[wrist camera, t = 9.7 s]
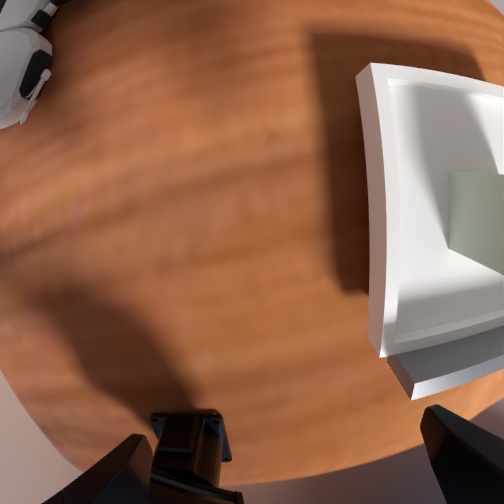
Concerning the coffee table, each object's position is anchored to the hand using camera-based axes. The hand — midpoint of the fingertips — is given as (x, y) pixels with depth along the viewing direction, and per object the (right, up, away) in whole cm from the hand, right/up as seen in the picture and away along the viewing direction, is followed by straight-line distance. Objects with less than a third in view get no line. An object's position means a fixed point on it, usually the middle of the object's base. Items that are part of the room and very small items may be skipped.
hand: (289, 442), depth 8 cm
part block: (+12, +8, +7) cm, 16 cm away
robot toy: (-20, +23, +8) cm, 31 cm away
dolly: (+13, +9, +11) cm, 19 cm away
